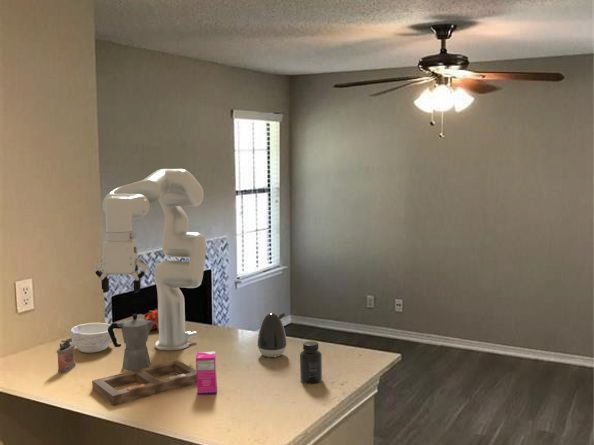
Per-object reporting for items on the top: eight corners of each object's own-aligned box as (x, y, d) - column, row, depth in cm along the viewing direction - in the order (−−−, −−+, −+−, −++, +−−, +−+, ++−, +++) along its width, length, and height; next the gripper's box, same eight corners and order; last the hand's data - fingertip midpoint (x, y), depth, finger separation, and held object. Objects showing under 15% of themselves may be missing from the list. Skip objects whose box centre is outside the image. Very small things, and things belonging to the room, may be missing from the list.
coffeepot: (154, 359, 225) (153, 308, 223) (158, 368, 217) (157, 315, 214) (108, 365, 220) (106, 313, 218) (110, 374, 211) (108, 320, 209)
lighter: (64, 373, 212) (63, 343, 211) (55, 373, 213) (53, 343, 212) (77, 365, 220) (76, 336, 219) (68, 364, 221) (67, 335, 219)
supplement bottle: (324, 377, 208) (324, 341, 206) (318, 385, 201) (318, 347, 200) (304, 375, 210) (304, 339, 208) (297, 382, 204) (297, 345, 202)
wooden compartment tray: (177, 368, 216) (177, 358, 216) (201, 382, 204) (201, 371, 204) (92, 390, 198) (91, 379, 198) (113, 406, 186) (113, 394, 186)
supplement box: (197, 387, 200) (197, 351, 198) (217, 387, 200) (216, 351, 199) (196, 395, 194) (195, 357, 192) (216, 394, 194) (215, 357, 193)
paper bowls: (122, 349, 236) (121, 328, 235) (81, 358, 227) (80, 336, 226) (104, 339, 248) (103, 319, 247) (64, 348, 238) (63, 327, 237)
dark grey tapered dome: (292, 356, 228) (292, 313, 226) (267, 362, 223) (267, 318, 221) (277, 348, 237) (276, 307, 235) (252, 354, 231) (251, 312, 229)
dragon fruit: (169, 328, 267) (146, 340, 258) (156, 314, 270) (133, 325, 261) (175, 315, 263) (152, 326, 254) (162, 301, 266) (138, 311, 257)
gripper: (150, 235, 202) (152, 289, 204) (96, 235, 203) (98, 289, 205) (143, 239, 194) (144, 295, 197) (86, 238, 196) (89, 294, 198)
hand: (121, 292), depth 201 cm, fingers open, 9 cm apart
